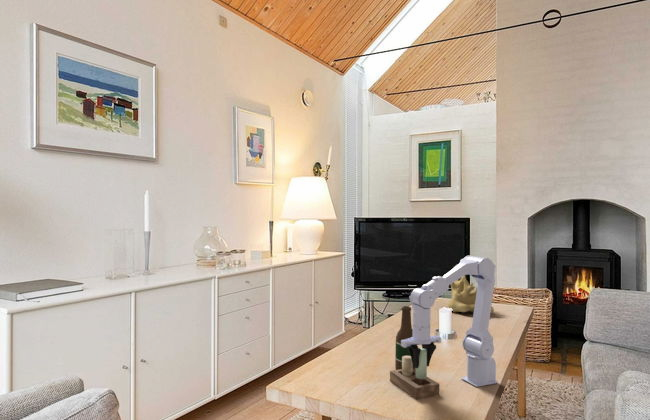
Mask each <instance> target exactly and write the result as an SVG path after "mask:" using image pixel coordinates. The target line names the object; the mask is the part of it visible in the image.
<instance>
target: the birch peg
mask: <svg viewBox="0 0 650 420" xmlns="http://www.w3.org/2000/svg"><path fill="white" fill-rule="evenodd" d="M412 372H413V363H412V359H411V356H403V357H402V375H403V376H405V377H406V376H412Z"/></svg>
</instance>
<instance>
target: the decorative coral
mask: <svg viewBox="0 0 650 420" xmlns="http://www.w3.org/2000/svg"><path fill="white" fill-rule="evenodd" d="M450 287H451V298H450V300H449V301H448V303H447V308H448V307H449V308H452V309H453V312H452V313H459V312H461V313H467V312H471V313H474V308H475V301H476V294H477V287H475V286H474V283H472V282H471V283H469V281H468V280H467V277H466V275H465V276H463V277H461V278H460V279H458V280H457V281H455V282H453V283H452V284H450ZM494 311H495V310H494V307H493V306H492V305H491V313H494Z"/></svg>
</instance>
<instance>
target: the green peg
mask: <svg viewBox="0 0 650 420" xmlns="http://www.w3.org/2000/svg"><path fill="white" fill-rule="evenodd" d="M419 348H420V349H421V351H420V355H419V367H418V368H416V376H415V377H416V378H418V379H426V378H427V377H428V376H427V373H428V371H427V370H428V366H427V350H426V349H423V348H422V347H419Z"/></svg>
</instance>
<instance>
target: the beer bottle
mask: <svg viewBox="0 0 650 420" xmlns="http://www.w3.org/2000/svg"><path fill="white" fill-rule="evenodd" d="M400 310H401V321H400V322H401V323H400V329H399V330H398V331H397V333H396V336H395V356H394V357H395V370H399V369H402V357H403V356H410V353H409V351H408V349H407V347H406V348H404V347H402V346H401V340H405V339H408V338H411V337H413V325H412V307H411V306H407V305H403V306H402V307H401V309H400ZM413 369H415V370H416V368H415V367H413Z"/></svg>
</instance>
